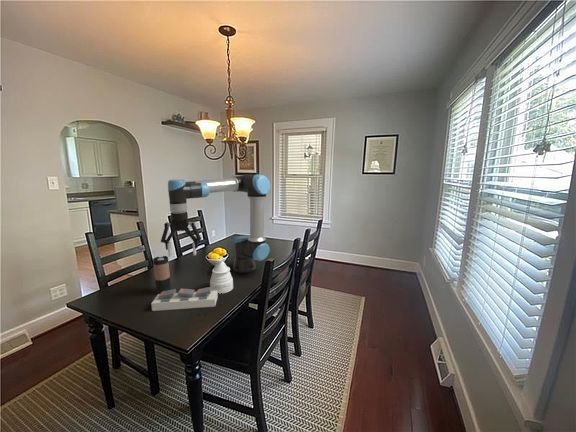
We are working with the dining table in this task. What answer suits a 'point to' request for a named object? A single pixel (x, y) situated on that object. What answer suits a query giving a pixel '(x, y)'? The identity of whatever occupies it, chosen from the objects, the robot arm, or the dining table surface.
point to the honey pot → (221, 278)
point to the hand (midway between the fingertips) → (182, 255)
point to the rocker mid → (186, 292)
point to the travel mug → (161, 274)
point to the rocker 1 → (167, 294)
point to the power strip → (184, 302)
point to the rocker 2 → (203, 291)
